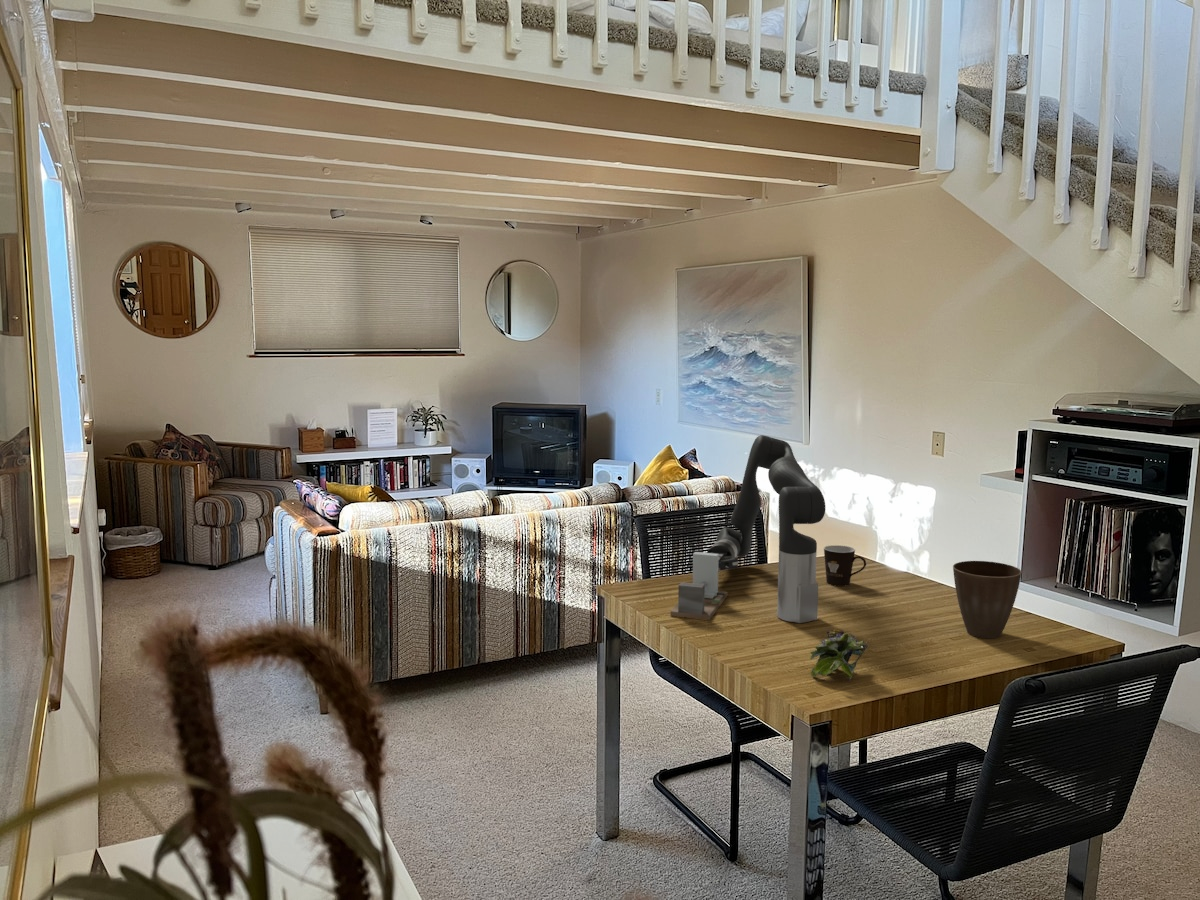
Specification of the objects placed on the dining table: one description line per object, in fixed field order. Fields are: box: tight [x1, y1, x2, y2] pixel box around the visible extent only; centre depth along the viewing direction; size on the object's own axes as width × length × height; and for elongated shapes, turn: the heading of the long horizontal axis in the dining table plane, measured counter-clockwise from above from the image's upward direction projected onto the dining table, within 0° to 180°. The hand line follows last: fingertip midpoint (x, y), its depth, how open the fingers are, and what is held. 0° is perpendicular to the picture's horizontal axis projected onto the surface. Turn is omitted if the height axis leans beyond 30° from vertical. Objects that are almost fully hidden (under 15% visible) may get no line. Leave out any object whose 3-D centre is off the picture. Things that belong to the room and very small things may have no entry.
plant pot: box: [952, 560, 1022, 639], centre depth 217 cm, size 15×15×16 cm
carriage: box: [692, 551, 725, 599], centre depth 241 cm, size 8×8×11 cm
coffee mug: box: [823, 544, 867, 587], centre depth 259 cm, size 12×9×10 cm
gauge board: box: [670, 581, 728, 621], centre depth 239 cm, size 22×10×8 cm, turn 160°
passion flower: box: [809, 629, 869, 683], centre depth 191 cm, size 11×11×12 cm
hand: (709, 568), depth 248 cm, fingers closed
